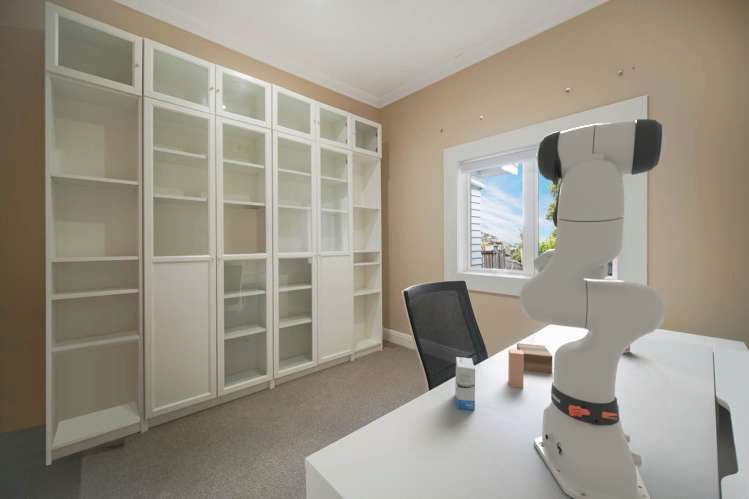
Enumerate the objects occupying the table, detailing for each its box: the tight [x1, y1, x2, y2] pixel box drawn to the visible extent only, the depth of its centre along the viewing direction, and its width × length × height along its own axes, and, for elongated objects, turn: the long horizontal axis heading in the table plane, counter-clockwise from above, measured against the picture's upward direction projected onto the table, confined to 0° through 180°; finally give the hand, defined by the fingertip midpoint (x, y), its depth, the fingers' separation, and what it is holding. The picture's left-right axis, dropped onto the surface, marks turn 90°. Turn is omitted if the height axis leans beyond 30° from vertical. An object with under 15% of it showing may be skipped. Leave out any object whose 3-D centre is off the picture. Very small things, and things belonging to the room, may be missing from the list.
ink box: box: [454, 356, 476, 411], centre depth 88 cm, size 8×5×12 cm, turn 168°
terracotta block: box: [507, 348, 525, 389], centre depth 100 cm, size 4×4×11 cm
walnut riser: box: [516, 342, 553, 374], centre depth 116 cm, size 12×10×6 cm
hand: (551, 286), depth 96 cm, fingers open, 8 cm apart
